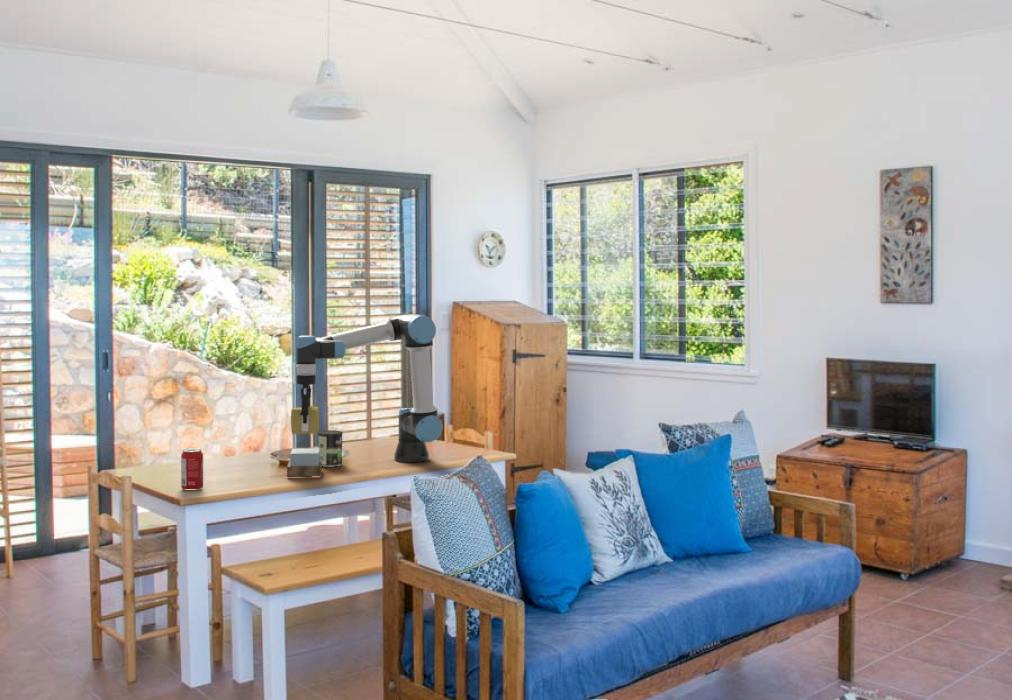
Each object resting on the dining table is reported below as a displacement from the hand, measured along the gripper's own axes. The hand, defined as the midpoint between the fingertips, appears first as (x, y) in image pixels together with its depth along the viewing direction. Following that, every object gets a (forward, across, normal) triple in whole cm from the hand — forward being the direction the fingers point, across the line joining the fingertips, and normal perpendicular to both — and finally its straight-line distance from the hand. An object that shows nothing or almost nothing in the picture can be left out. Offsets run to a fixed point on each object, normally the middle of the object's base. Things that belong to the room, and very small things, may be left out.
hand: (305, 429), depth 409 cm
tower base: (+19, 0, 0) cm, 19 cm away
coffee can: (+19, -20, +9) cm, 29 cm away
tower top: (+14, 0, 0) cm, 14 cm away
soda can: (+19, +26, -40) cm, 51 cm away
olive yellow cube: (+2, 0, 0) cm, 2 cm away
